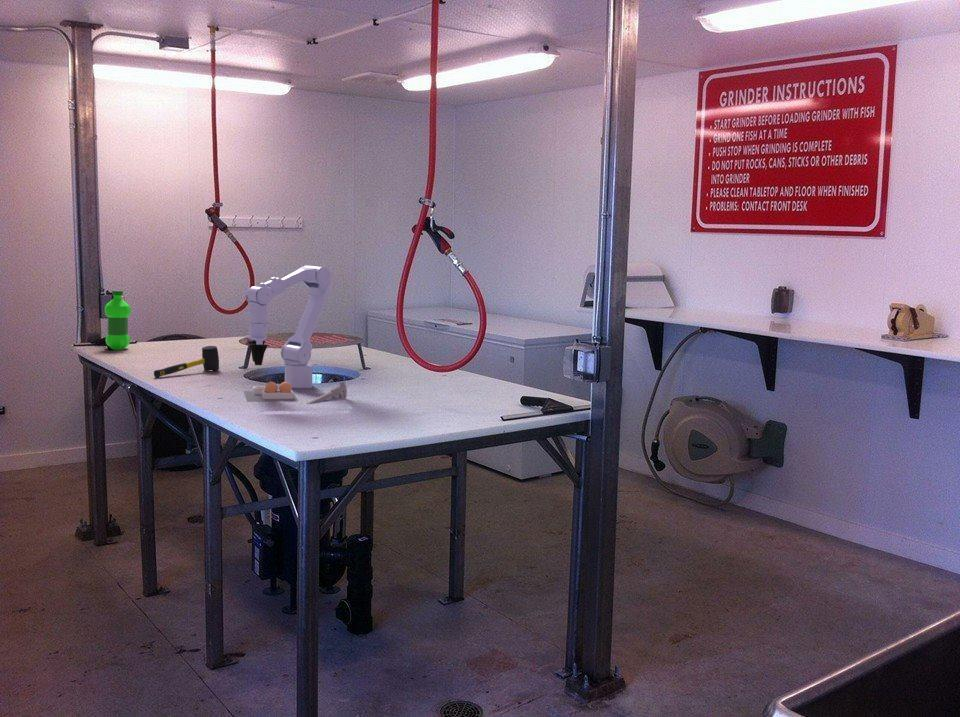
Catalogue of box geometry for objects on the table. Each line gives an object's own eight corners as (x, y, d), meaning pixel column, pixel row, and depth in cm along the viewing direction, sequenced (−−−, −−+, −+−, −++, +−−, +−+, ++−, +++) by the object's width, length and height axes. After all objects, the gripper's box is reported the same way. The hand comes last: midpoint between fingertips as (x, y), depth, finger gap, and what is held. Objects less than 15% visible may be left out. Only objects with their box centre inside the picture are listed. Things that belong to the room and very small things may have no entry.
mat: (292, 393, 300) (292, 390, 300) (298, 404, 283) (298, 401, 283) (243, 394, 295) (243, 391, 294) (247, 404, 278) (247, 401, 278)
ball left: (290, 392, 290) (291, 380, 289) (292, 395, 286) (292, 382, 285) (278, 392, 288) (278, 380, 288) (279, 395, 284) (279, 382, 284)
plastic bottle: (135, 349, 381) (135, 291, 378) (112, 351, 373) (112, 291, 370) (122, 346, 388) (122, 289, 384) (100, 348, 379) (99, 290, 376)
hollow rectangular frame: (291, 396, 290) (292, 390, 290) (293, 398, 286) (293, 392, 286) (261, 396, 287) (262, 390, 287) (263, 399, 283) (263, 392, 283)
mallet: (161, 379, 314) (161, 352, 313) (149, 377, 317) (149, 351, 316) (222, 371, 339) (222, 346, 338) (211, 369, 342) (211, 344, 341)
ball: (276, 392, 288) (277, 380, 288) (278, 395, 284) (278, 383, 284) (264, 393, 287) (264, 380, 286) (265, 395, 283) (265, 383, 283)
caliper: (344, 399, 297) (344, 380, 296) (346, 399, 296) (347, 381, 295) (303, 407, 279) (304, 388, 278) (306, 408, 278) (306, 388, 277)
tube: (265, 392, 295) (265, 386, 295) (266, 394, 291) (267, 388, 291) (252, 392, 294) (253, 386, 293) (253, 394, 290) (253, 388, 289)
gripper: (243, 320, 298) (243, 359, 300) (247, 325, 285) (246, 366, 287) (265, 320, 301) (264, 360, 303) (269, 325, 287) (268, 366, 289)
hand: (257, 363), depth 295 cm, fingers open, 7 cm apart
